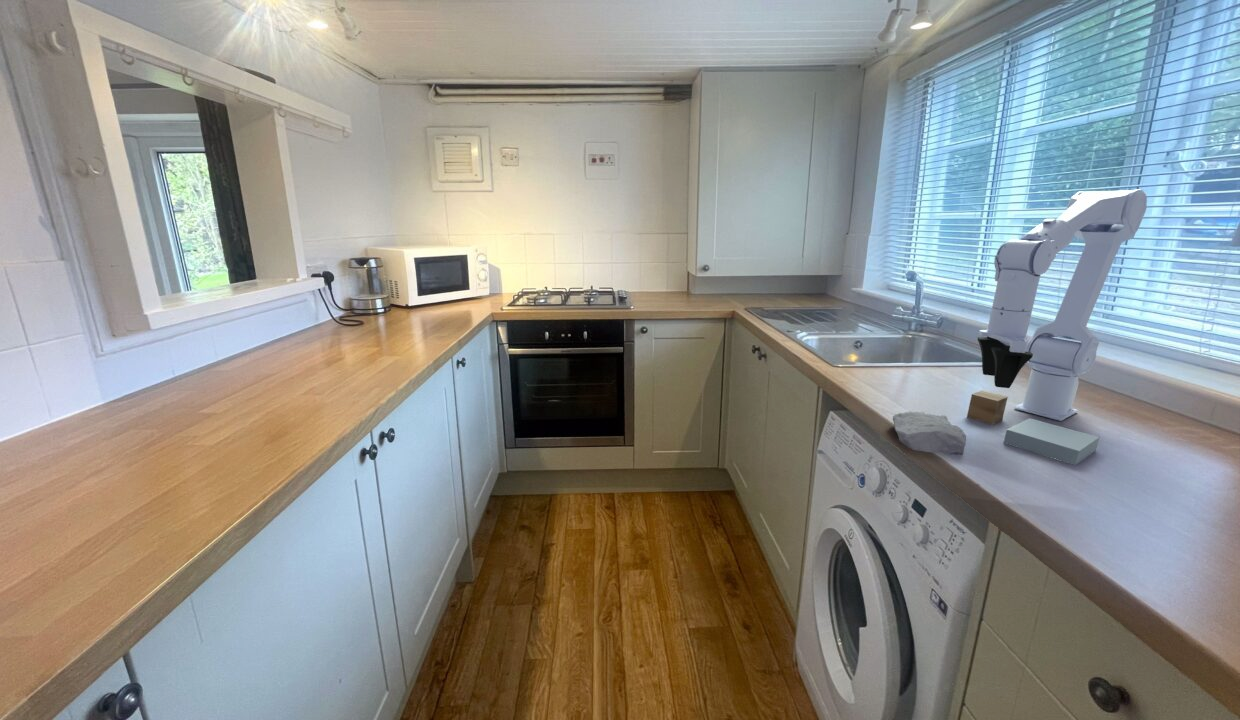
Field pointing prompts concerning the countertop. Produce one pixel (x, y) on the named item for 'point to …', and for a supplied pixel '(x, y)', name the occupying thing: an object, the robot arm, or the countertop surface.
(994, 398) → the walnut block
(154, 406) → the countertop surface
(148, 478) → the countertop surface
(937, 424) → the stone block
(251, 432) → the countertop surface
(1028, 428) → the base slab
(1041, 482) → the countertop surface
